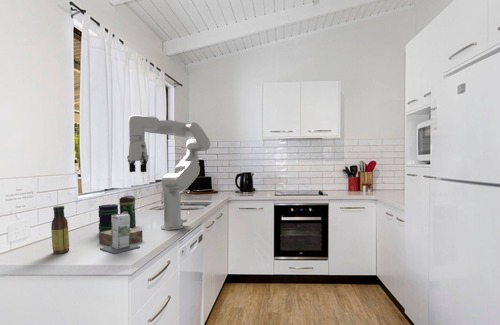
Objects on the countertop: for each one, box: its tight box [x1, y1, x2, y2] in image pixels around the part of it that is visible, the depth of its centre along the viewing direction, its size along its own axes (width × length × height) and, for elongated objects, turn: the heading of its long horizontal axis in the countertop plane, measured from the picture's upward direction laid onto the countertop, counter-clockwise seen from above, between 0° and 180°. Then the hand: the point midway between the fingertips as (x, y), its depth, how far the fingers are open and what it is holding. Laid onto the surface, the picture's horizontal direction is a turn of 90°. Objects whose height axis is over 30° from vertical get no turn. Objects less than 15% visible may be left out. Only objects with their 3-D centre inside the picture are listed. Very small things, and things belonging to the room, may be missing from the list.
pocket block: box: [98, 227, 143, 246], centre depth 154 cm, size 14×14×5 cm
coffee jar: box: [118, 195, 137, 228], centre depth 189 cm, size 10×8×19 cm
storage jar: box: [98, 203, 119, 233], centre depth 174 cm, size 10×10×15 cm
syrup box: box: [111, 213, 130, 249], centre depth 141 cm, size 6×6×14 cm
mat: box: [99, 243, 141, 255], centre depth 141 cm, size 12×12×1 cm
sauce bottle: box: [51, 205, 70, 255], centre depth 137 cm, size 7×6×20 cm
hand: (137, 172), depth 167 cm, fingers open, 9 cm apart
